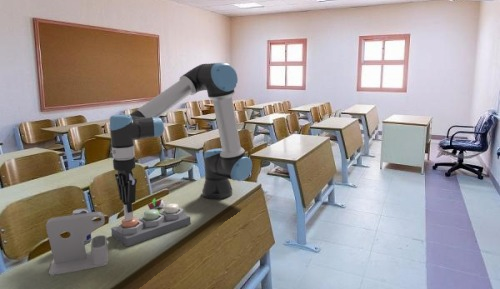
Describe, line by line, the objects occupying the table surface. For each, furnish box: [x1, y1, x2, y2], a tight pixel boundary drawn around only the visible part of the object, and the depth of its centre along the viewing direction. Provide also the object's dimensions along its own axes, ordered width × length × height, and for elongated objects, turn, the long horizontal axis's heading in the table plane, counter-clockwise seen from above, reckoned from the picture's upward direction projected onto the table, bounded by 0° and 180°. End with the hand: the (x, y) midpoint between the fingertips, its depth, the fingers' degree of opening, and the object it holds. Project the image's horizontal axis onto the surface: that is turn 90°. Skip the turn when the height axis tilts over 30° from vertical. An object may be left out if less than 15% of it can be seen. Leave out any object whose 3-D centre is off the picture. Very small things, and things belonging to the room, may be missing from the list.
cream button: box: [163, 203, 180, 214], centre depth 146 cm, size 6×6×2 cm
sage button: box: [143, 209, 159, 221], centre depth 140 cm, size 6×6×2 cm
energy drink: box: [71, 207, 92, 245], centre depth 131 cm, size 5×5×12 cm
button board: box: [110, 206, 192, 247], centre depth 141 cm, size 27×13×5 cm, turn 134°
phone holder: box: [45, 211, 109, 276], centre depth 115 cm, size 17×10×18 cm, turn 111°
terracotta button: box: [121, 216, 138, 228], centre depth 134 cm, size 6×6×2 cm
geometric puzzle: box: [147, 197, 166, 213], centre depth 157 cm, size 7×7×8 cm
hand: (129, 219), depth 134 cm, fingers closed
